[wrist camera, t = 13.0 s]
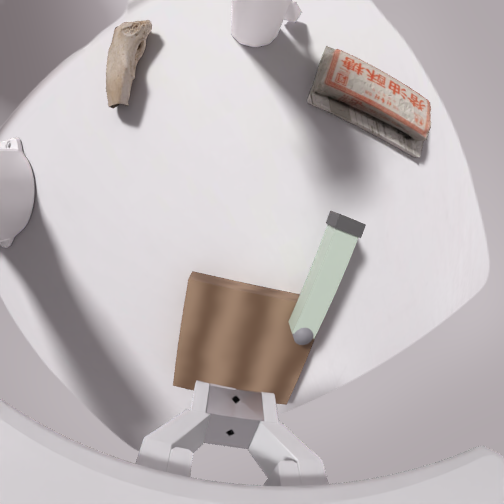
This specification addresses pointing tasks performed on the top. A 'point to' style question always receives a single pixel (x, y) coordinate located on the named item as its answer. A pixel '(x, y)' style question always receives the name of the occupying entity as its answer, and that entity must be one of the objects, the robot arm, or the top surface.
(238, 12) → the fire extinguisher
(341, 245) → the hinged leg
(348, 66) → the packaged product
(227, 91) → the top surface
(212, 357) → the stool seat
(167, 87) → the top surface
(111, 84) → the bone fragment
